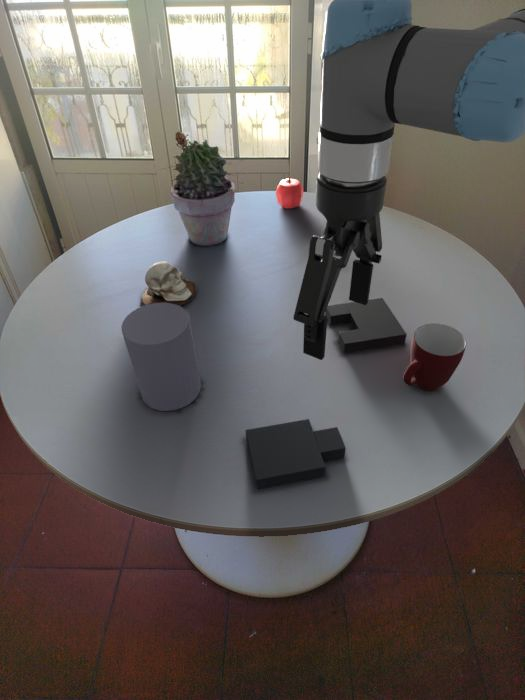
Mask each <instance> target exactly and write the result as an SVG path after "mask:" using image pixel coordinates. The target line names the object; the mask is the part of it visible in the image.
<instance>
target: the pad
mask: <svg viewBox="0 0 525 700" xmlns="http://www.w3.org/2000/svg"><path fill="white" fill-rule="evenodd" d="M245 439H246V444H247V449H248V450H247V451H248V454H249V458H250V463H251V469H252V473H253V474H252V475H253V479H254V483H255V487H256V490H264V489H267V488H273V487H279V486H283V485H284V486H285V485H289V484H294V483H299V482H304V481H309V480H315V479H320V478H325V477H326V464H325V462H331V461H335V460H341V459H344V458H345V457H346V456H345V455H346V446H345V443H344V441H343V438H342V435H341V433H340V430H339V427H338V426H334V427H329V428H324V429H319V430H314V429H313V427H312V424H311V421H310V419H309V418H306V419H301V420H300V419H299V420H294V421H289V422H283V423H277V424H272V425H271V424H270V425H266V426H260V427H255V428H248V429H245Z"/></svg>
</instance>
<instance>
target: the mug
mask: <svg viewBox="0 0 525 700" xmlns="http://www.w3.org/2000/svg"><path fill="white" fill-rule="evenodd" d="M466 348H467V341H466V338H465V337H464V335H463V334H462V333H461V332H460V331H459V330H458V329H456V328H454V327H453V326H450V325H447V324H443V323H427V324H423V325H421V326H418V327H417V328H416V329H415V331H414V332H413V336H412V339H411V343H410V351H409V352H410V354H409V355H410V358H409V359H410V361H409V362H410V363H409V365H408V366H407V367H406V369H405V371H404V373H403V377H402V380H403V383H404V384H405V385H407V386H409V387H414V386H417V387H418V388H419V389H421V390H422V391H426V392H433V391H434V392H435V391H436V390H439V389H440V388H441V387H443V386H444V385H445V384H447V383H448V382H449V381H450V379H451V377H452V376H453V374H454V373H455V371H456V369H457V368H458V367H459V365H460V363H461V362H462V359H463V358H464V354H465V351H466Z"/></svg>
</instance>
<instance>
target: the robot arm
mask: <svg viewBox="0 0 525 700" xmlns="http://www.w3.org/2000/svg"><path fill="white" fill-rule="evenodd" d="M412 8H413V4H412V0H332V1H331V2H330V3H329V5H328V6H327V8H326V12H325V20H324V30H323V31H324V32H323V39H322V41H323V42H322V52H321V53H320V61H321V63H320V64H321V67H320V69H321V70H320V71H321V73H320V74H321V75H320V76H321V77H320V78H321V79H320V94H321V95H320V120H319V129H318V131H319V132H318V136H317V138H316V144H317V145H318V149H317V150H318V153H317V171H318V172H319V173H318V175H317V176H316V184H315V206H316V207H315V208H316V209H317V210H318V212H319V213H320V214H321V215H322V216H323V217H324V218H325V220H326V222H325V227H324V229H323V233H322V236H319V235H312V236H311V237H310V240H309V246H308V247H309V249H308V258H307V261H306V265H305V268H304V274H303V277H302V281H301V285H300V289H299V293H298V297H297V301H296V304H295V309H294V312H293V313H294V314H293V321H296V322H298V323H301V324H303V345H302V346H303V347H302V348H303V349H302V353H303V354H305V355H306V356H307V355H308V356H310V357H312V358H314V359H317V360H319V361H320V360H321V361H322V360H324V358H325V355H326V354H325V353H326V340H327V328H328V327H327V326H328V320H327V317H326V316H325V312H326V309H327V306H329V303H330V301H331V298H332V295H333V292H334V289H335V286H336V284H337V282H338V279H339V276H340V273H341V270H342V269H344V268H346V267H347V265H348V263H349V260H350V257H351V255H352V252H353V253H354V255H355V256H356V258H357V259H356V258H354V260H353V261H352V268H351V277H350V286H349V295H348V300H349V301H351V302H357V303H360V304H363V305H367V303H368V300H370V299H369V298H370V293H371V292H370V291H371V284H372V277H373V272H374V271H373V269H374V264H377V265H379V264H380V263H381V261H382V257H383V256H382V255H381V254H378V253H380V252H381V251H382V249H383V239H382V228H381V227H382V225H381V215H380V213H381V211H382V210H383V207H384V202H385V196H386V188H387V181H388V180H387V177H386V175H387V174H388V173H389V171H390V163H391V158H392V149H393V144H394V143H393V141H394V135H395V133H394V132H395V125H397V124H398V125H404V126H409V127H413V128H417V129H423V130H429V131H433V132H438V133H443V134H448V135H453V136H458V137H463V138H464V139H467V140H470V141H472V142H473V141H474V142H479V141H486V142H488V141H489V142H497V143H512V142H515V141H516V140H519V139H521V137H522V136H523V135H524V134H525V8H520V9H519V10H516V11H514V12H513V13H511V14H509V15H508V16H505V17H503V18H500V19H497V20H493V21H491V22H488V23H485V24H483V25H480V26H478V27H476V28H473V29H472V28H471V29H459V28H458V29H456V28H436V27H425V26H420V25H415V24H413V23H412V20H413V16H412V13H413V9H412ZM334 256H335V257H334ZM336 256H337V257H336ZM338 257H340V258H338ZM373 263H374V264H373Z"/></svg>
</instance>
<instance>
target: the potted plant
mask: <svg viewBox="0 0 525 700" xmlns="http://www.w3.org/2000/svg"><path fill="white" fill-rule="evenodd" d="M188 136H189V137H190V138H192V136H190V135H189V134H188V133H187V134H186V135H185V133H184V132H182V131H180V130H179V131H177V132H175V140H176V142H177V143H176V146H177V147H178V148H180V150H182V151H183V152H181V153H180V155H177V154H176V156H174V159H177V161H178V162H176V161H174V164H175V165H172V166H171V168H173V167H175V168H174V169H173V171H177V172H178V175H176V176H175V177H174V178H173V180H171V182H175V183H174V184H173V185H172V186H171V188H170V196H171V199H172V204H173V206H174V209H175V210H176V211H177V212H178V214H179V216H180V218H181V221H182V223H183V226H184V228H185V230H186V233H187V235H188V238H189V240H190V241H191V243H193V244H194V245H198V246H204V247H205V246H212V245H218V244H220V243H223V242H224V241H225V240H226V239H227V238H228V234H229V228H230V227H229V226H230V220H231V214H232V208H233V205H234V203H235V201H236V200H235V197H236V196H237V194H238V193H237V192H238V191H237V190H236V189H235V182H234V181H233V180H231V178H228V177H226V176H227V175H228V176H233V177H235V175H234V174H231V173H229V172H228V170H226V169H224V166H225V165H227V164H229V166H230V165H233V162H231V161H230V160H228V161H227V160H226V159H225V158H224V157H222V156H221V155H220V153H219V146H217V145H216V146H211V145H210V144H209V142H208V140H207V139H206V138H205V139H204V141H202V142H199V141H198V140H195V139H194V140H193V141H191V140H189V138H188V139H187V137H188ZM201 143H202V144H201ZM234 165H236V166H237V164H234ZM168 168H170V167H169V166H168V167H167V169H168ZM165 169H166V167H164V168H163V170H165ZM160 170H162V168H160V169H159V171H160ZM237 183H238V184H240V181H239V182H237ZM241 184H243V185H244V183H243V182H241ZM235 192H236V193H237V194H235ZM235 195H236V196H235Z"/></svg>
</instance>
